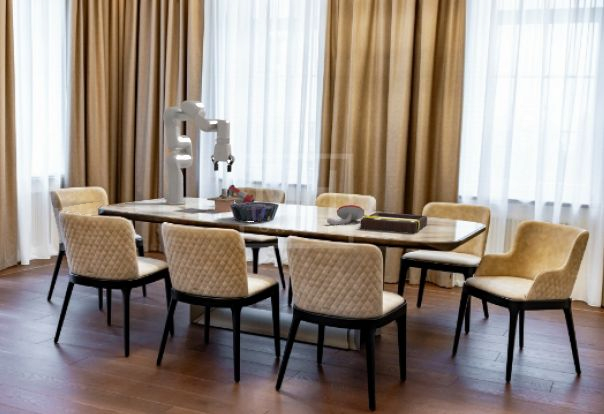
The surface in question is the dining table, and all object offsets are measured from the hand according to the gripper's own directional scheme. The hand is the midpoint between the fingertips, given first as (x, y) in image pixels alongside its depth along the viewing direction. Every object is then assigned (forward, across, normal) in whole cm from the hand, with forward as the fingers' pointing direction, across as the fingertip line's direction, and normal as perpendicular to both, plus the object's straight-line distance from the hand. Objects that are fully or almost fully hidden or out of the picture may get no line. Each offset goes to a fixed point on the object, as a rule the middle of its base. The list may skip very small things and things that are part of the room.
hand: (222, 171), depth 380 cm
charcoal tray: (+24, -12, -13) cm, 29 cm away
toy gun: (+24, -6, +20) cm, 31 cm away
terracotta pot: (+23, +2, 0) cm, 23 cm away
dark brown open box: (+23, +102, +14) cm, 106 cm away
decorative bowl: (+23, +32, -12) cm, 42 cm away
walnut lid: (+16, +2, -1) cm, 16 cm away
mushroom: (+23, +74, +10) cm, 78 cm away
